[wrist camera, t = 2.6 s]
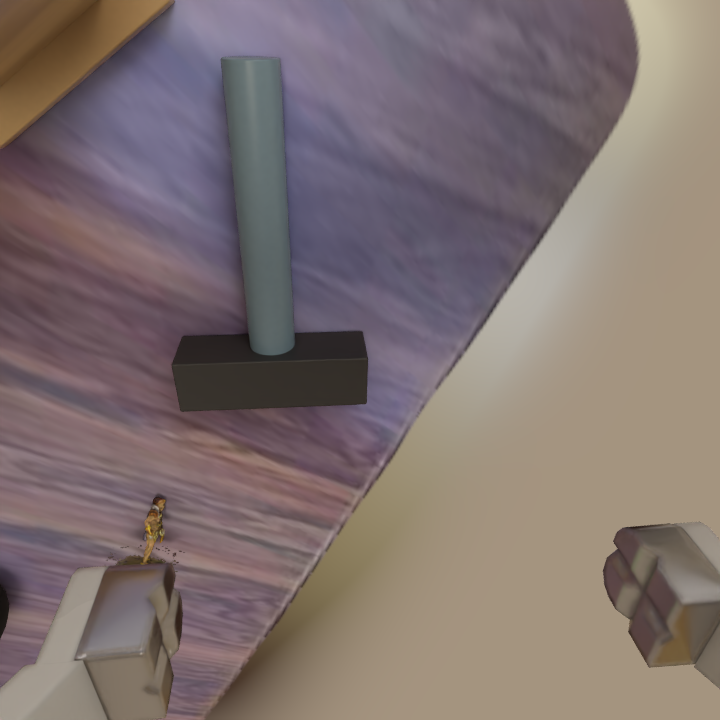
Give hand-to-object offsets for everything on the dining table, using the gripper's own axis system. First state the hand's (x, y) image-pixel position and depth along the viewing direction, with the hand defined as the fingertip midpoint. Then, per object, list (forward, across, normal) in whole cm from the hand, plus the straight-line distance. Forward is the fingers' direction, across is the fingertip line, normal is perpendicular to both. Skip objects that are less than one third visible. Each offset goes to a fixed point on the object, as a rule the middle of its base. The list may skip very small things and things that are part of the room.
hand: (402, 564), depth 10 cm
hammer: (+21, +3, +1) cm, 21 cm away
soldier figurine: (+18, +12, +22) cm, 31 cm away
